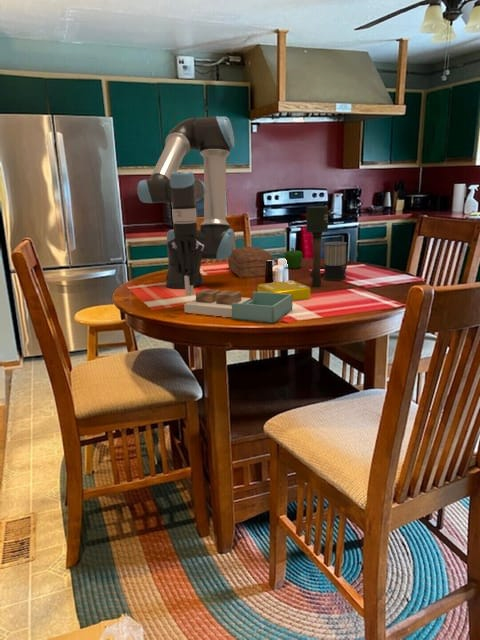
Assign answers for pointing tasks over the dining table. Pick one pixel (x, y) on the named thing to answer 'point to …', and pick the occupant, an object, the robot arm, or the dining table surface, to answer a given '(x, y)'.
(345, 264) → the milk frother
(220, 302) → the front tile
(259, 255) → the bread
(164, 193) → the robot arm
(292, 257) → the bell pepper
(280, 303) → the tray
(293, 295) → the element tile
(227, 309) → the board
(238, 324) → the dining table surface
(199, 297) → the rear tile
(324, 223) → the stick grenade
